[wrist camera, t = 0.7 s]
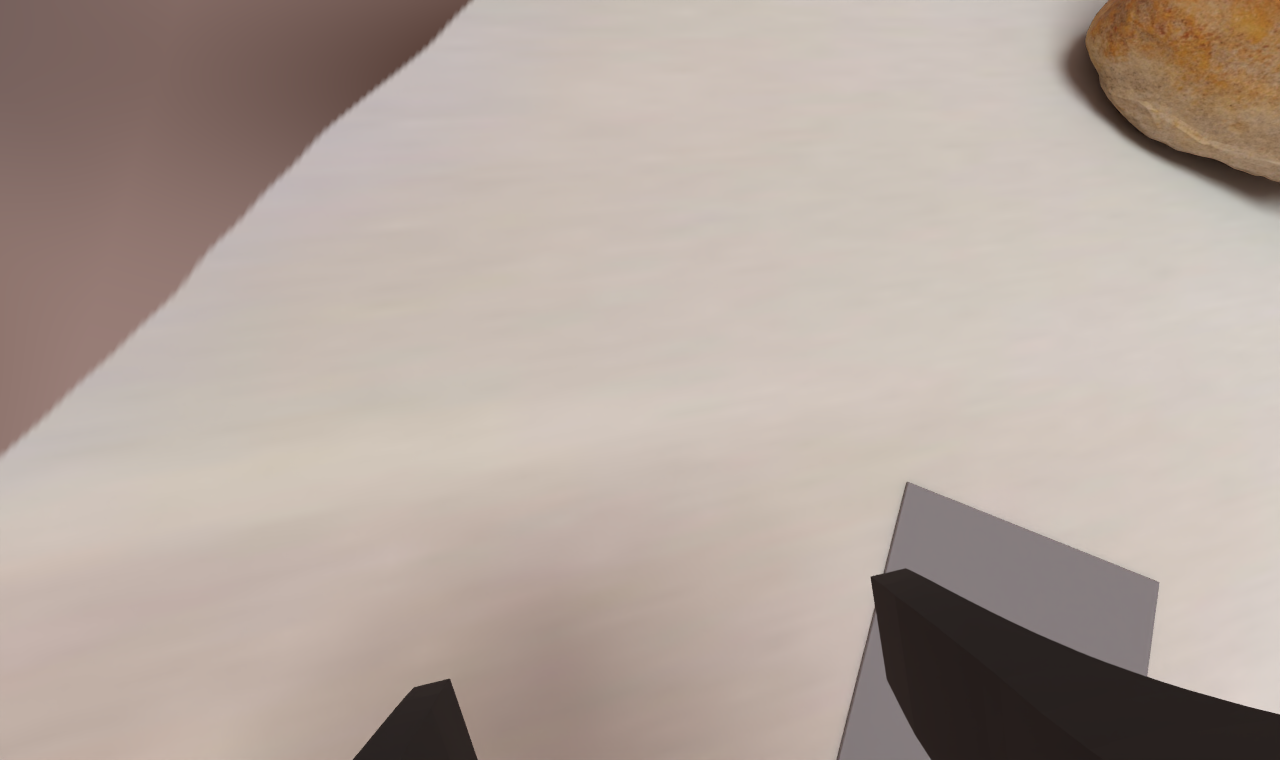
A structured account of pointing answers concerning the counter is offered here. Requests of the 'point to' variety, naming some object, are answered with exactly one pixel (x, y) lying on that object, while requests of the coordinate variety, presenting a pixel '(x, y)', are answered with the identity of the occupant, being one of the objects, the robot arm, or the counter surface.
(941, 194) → the counter surface
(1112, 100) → the rough brown rock
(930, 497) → the mat
